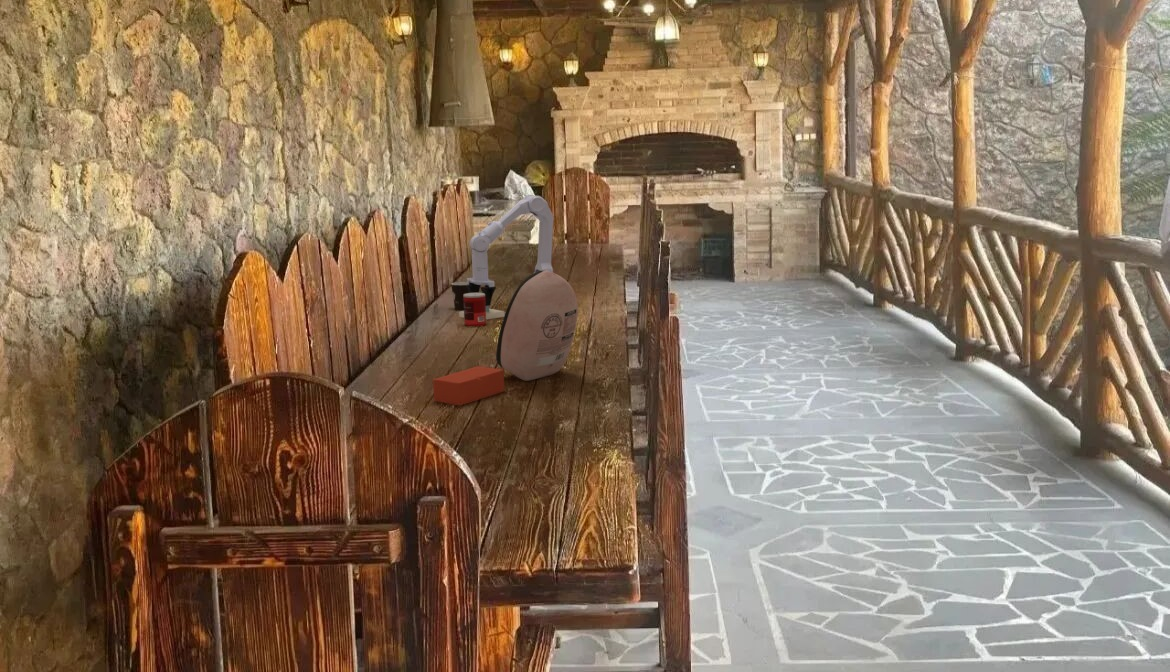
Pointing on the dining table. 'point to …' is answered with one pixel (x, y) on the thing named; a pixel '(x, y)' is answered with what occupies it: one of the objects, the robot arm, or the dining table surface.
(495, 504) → the dining table surface
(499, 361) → the packaged food
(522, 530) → the dining table surface
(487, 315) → the base tile
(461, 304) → the coffee mug
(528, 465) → the dining table surface
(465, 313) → the canned food
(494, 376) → the brick
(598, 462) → the dining table surface
